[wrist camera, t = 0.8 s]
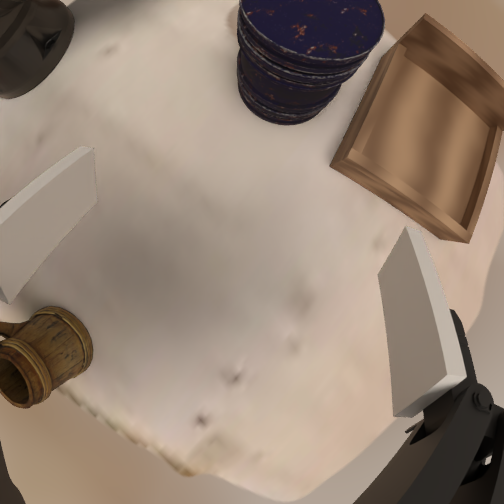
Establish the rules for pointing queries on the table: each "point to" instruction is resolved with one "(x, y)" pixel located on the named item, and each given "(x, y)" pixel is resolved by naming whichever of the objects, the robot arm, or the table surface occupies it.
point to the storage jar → (301, 53)
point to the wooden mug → (41, 355)
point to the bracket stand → (428, 131)
